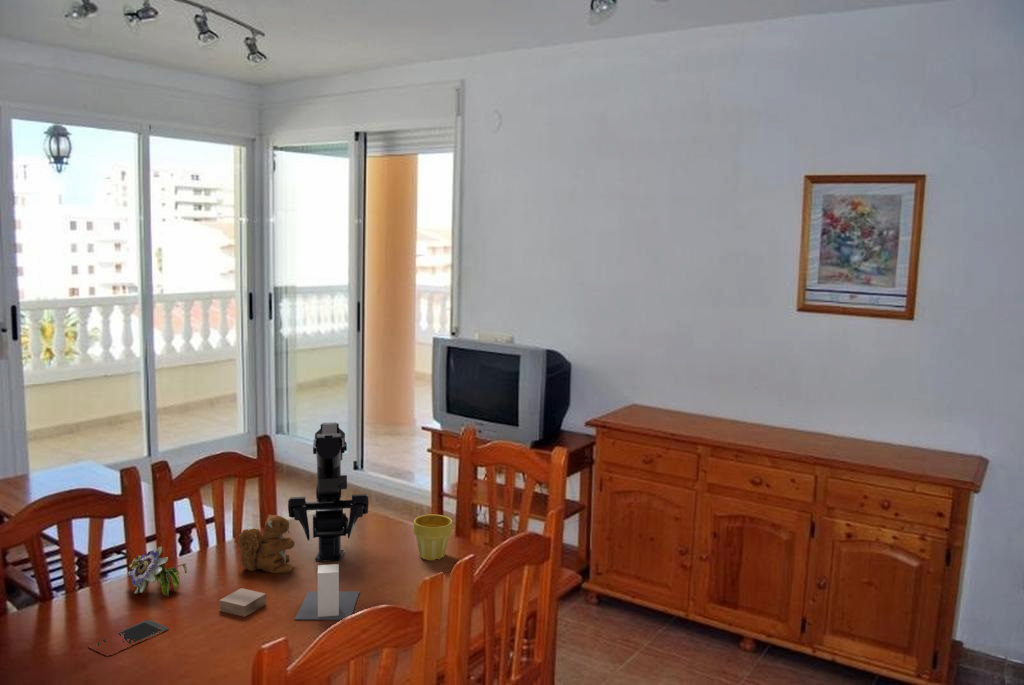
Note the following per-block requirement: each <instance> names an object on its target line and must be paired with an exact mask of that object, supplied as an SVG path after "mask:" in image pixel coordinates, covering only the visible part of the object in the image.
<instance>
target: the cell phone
mask: <svg viewBox="0 0 1024 685" xmlns="http://www.w3.org/2000/svg"><path fill="white" fill-rule="evenodd" d="M160 627H161V628H160ZM158 628H159V629H158ZM167 629H169V628H168V627H167V626H165V625H163V624H161V623H158V622H156V621H154V620H151V619H146V620H144V621H141V622H139V623H136V624H134V625H131V626H129V627H127V628H125V629H122V630H120V631H123V630H124V631H123V632H120V631H118V632H120V633H122V634H123V633H125V634H123V635H124V639H125V640H126V641H127V639H130V640H129V642H128V641H127V642H128V643H130V644H131V640H133V641H134V642H135V643H137V642H136V641H139V642H140V641H142V639H146V638H148V637H151V636H150V635H151V634H152V636H153V635H155V634H156V633H160V632H162V631H165V630H167ZM158 631H159V632H158ZM153 632H154V633H153ZM120 633H118V634H119V635H120V636H121V634H120ZM145 637H146V638H145ZM102 639H103V638H102ZM134 639H135V640H134ZM103 641H104V642H106V641H105V639H103ZM123 642H124V641H123ZM97 643H98V642H97ZM98 646H99V643H98Z"/></svg>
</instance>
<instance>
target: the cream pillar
mask: <svg viewBox="0 0 1024 685" xmlns="http://www.w3.org/2000/svg"><path fill="white" fill-rule="evenodd" d="M339 567H340V564H339V563H337V564H335V563H333V564H320V565H319V564H318V565H317V591H318V617H325V616H338V615H339V590H340V589H339V588H340V584H339V582H340V581H339V580H340V577H339V576H340V574H339V573H340V570H339Z"/></svg>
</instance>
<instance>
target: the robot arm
mask: <svg viewBox="0 0 1024 685" xmlns="http://www.w3.org/2000/svg"><path fill="white" fill-rule="evenodd" d="M339 425H340V424H339V423H337V422H322V423H320V428H319V429H318V430H317V431H316V432H315V433H314V439H313V445H312V454H313V455H316V488H315V492H316V493H315V495H316V501H306V496H291V497H290V498H289V499H288V500H287V501H288V502H287V509H288V510H287V511H288V517H289V518H294V520H295V521H299V524H300V525H301V527H302V529H303V531H304V534H305V538H306V540H307V541H310V539H311V538H310V537H311V536H310V527H309V519H308V518H309V517H308V511H315V513H314V514H312V538H318V539H317V540H318V552H317V554H316V556H315V558H314V561H315V562H319V561H320V562H340V561H341V560H342V558H343V555H344V552H345V551H344V549H342V548H341V547H342V544H341V543H342V542H341V540H342V537H346V535H347V539H350V538H351V536H352V533H353V530H354V527H355V525H356V523H357V522H358V520H359V518H362V517H363V516H364V515H366V514H369V503H370V502H369V495H368V494H366V493H358V494H356V493H355V494H354V493H353V494H351V499H344V500H342V490H347V489H348V476H347V474H345V475H344V474H343V475H342V473H341V471H342V470H341V469H342V468H341V467H342V466H341V464H342V463H341V462H342V461H343V454H345V452H346V451H348V450H347V449H348V444H347V443H348V442H346V433H345V431H343V430H342V429H341V428H340V426H339ZM344 509H350V510H349V516H347V515H346V512H344Z"/></svg>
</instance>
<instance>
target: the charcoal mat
mask: <svg viewBox="0 0 1024 685" xmlns="http://www.w3.org/2000/svg"><path fill="white" fill-rule="evenodd" d="M359 595H360V591H357V590H355V591H351V590H350V591H341V590H340V591H339V615H338V616H325V617H318V590H315V591H313V590H312V591H307V594H306V595H305V597H304V599H303V601H302V604H301V605H300V608H299V609H298V611H297V613H296V615H295V617H294V620H295V621H342V620H341V619H343V618H345V617H347V616H349V615H351V614H352V615H353V612H354V610H355V607H356V604H357V601H358V598H359Z"/></svg>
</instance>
